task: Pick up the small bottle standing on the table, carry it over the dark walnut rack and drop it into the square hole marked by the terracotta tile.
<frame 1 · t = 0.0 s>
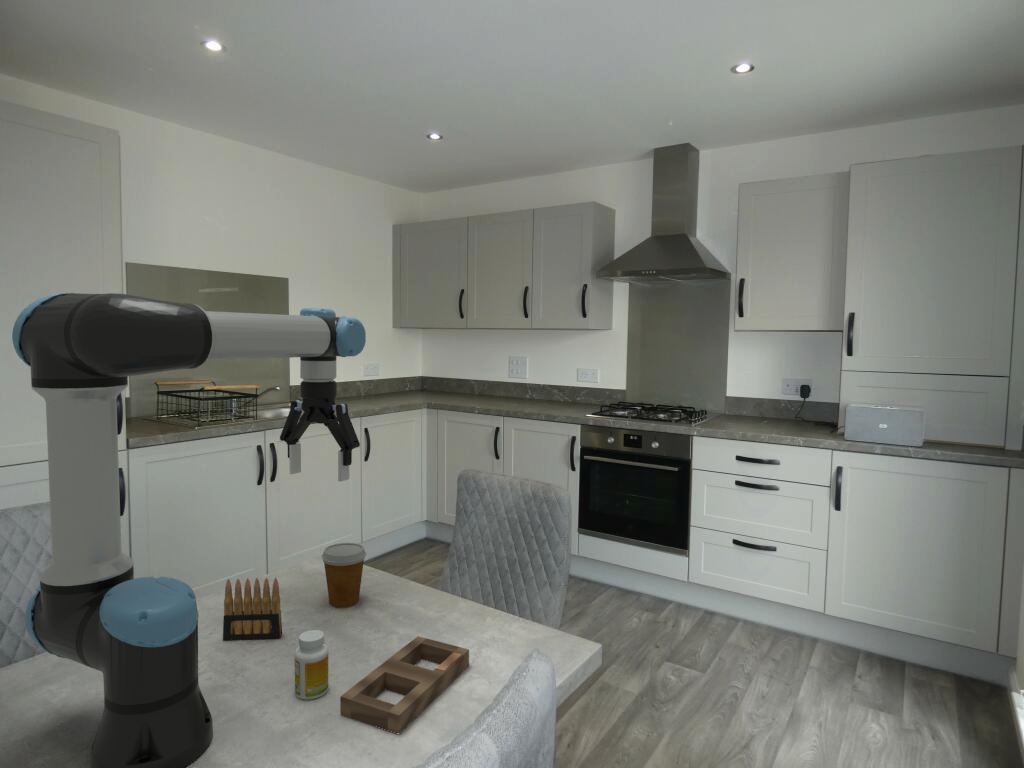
hand: (319, 476, 138), 28 cm above the table, tool pointing down, fingers open, 13 cm apart
disposable coffee cup: (344, 602, 140), on the table
ammunition clip: (252, 638, 123), on the table
supplement bottle: (311, 692, 105), on the table
rack: (409, 688, 106), on the table
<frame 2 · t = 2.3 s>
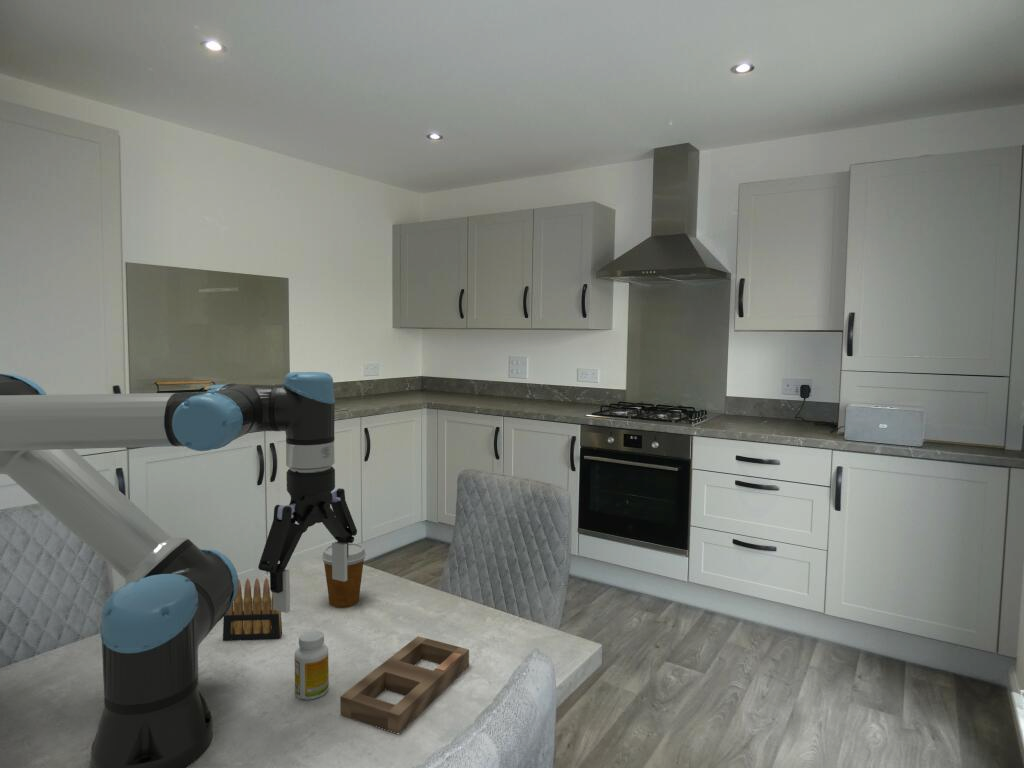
hand: (312, 594, 104), 17 cm above the table, tool pointing down, fingers open, 13 cm apart
nothing on the table moved.
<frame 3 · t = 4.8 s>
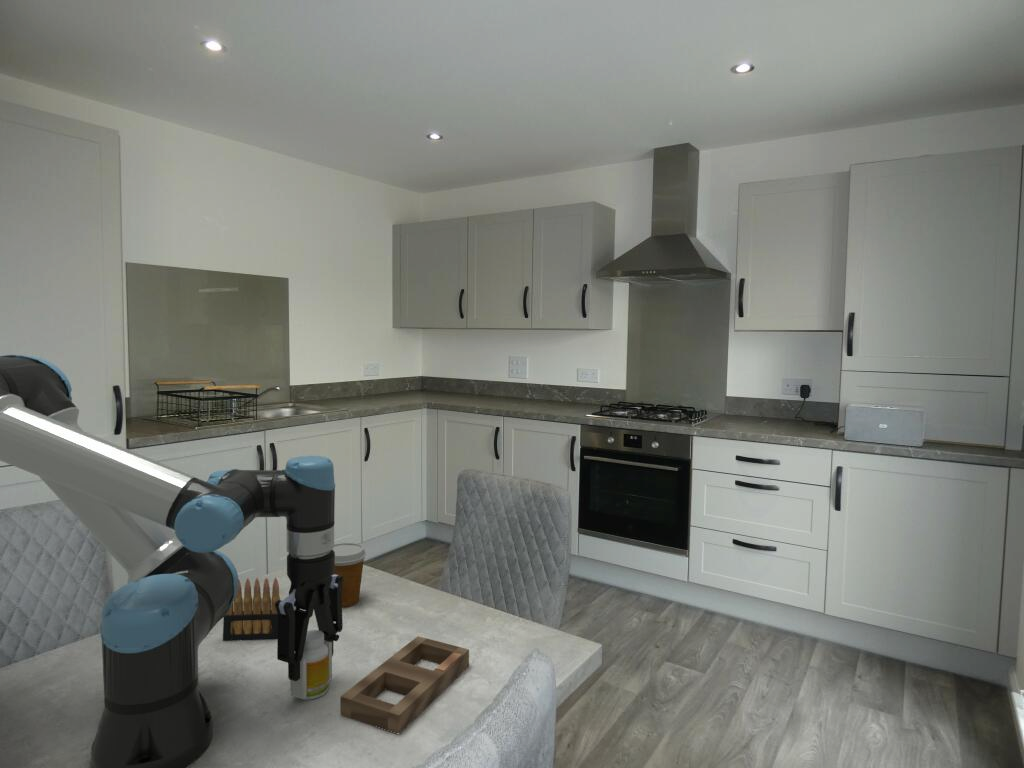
hand: (311, 686, 105), 1 cm above the table, tool pointing down, fingers closed on supplement bottle, 5 cm apart
supplement bottle: (311, 692, 105), on the table, touching gripper
everything else where it was.
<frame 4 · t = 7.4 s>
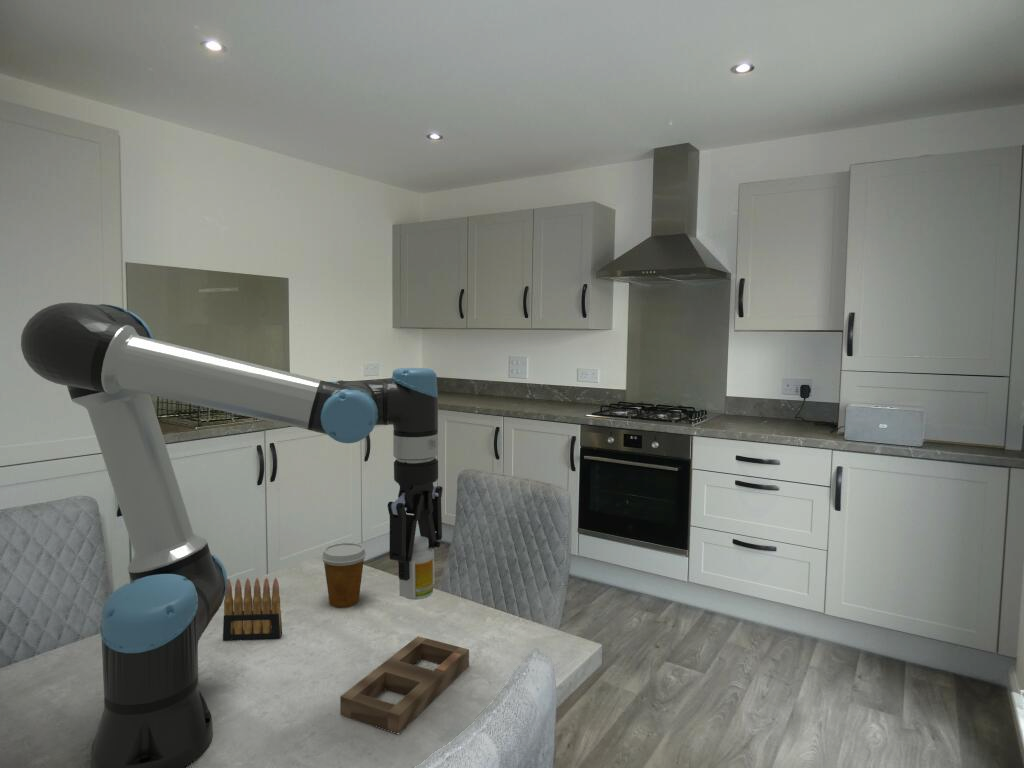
hand: (417, 589, 109), 15 cm above the table, tool pointing down, fingers closed on supplement bottle, 5 cm apart
supplement bottle: (417, 595, 110), point 14 cm above the table, touching gripper
everything else where it was.
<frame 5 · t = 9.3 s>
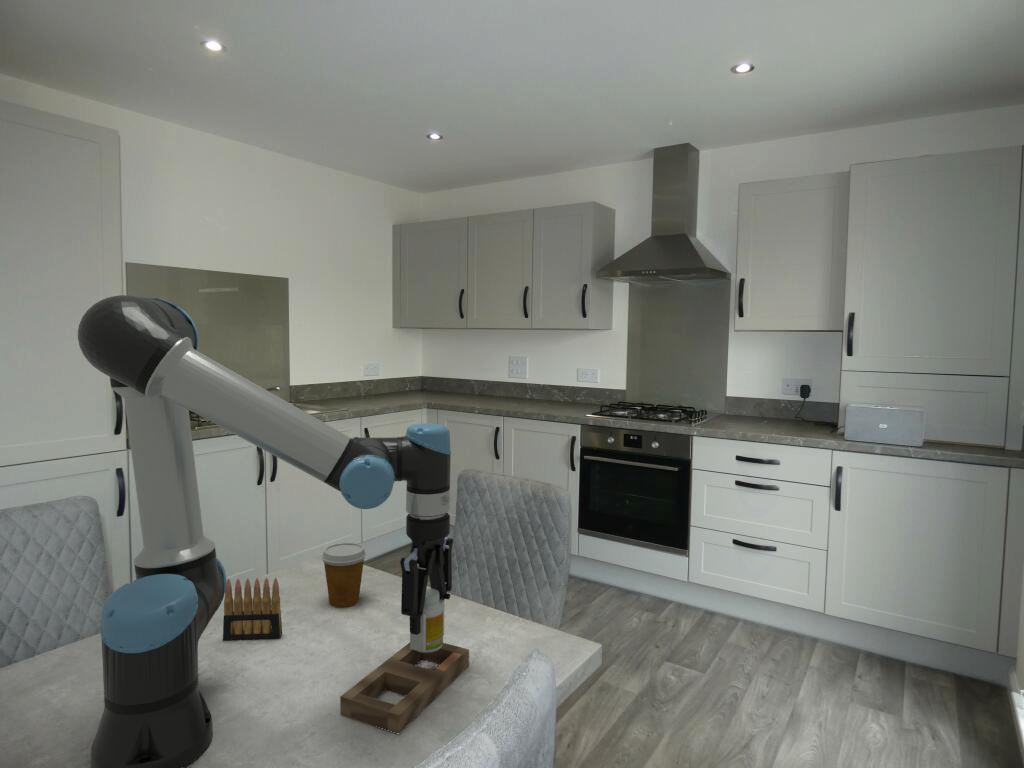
hand: (427, 641, 111), 6 cm above the table, tool pointing down, fingers closed on supplement bottle, 5 cm apart
supplement bottle: (427, 647, 111), point 5 cm above the table, touching gripper
everything else where it was.
when the fingers open (5 cm above the table, at t = 10.5 s): supplement bottle drops 4 cm, resting in rack.
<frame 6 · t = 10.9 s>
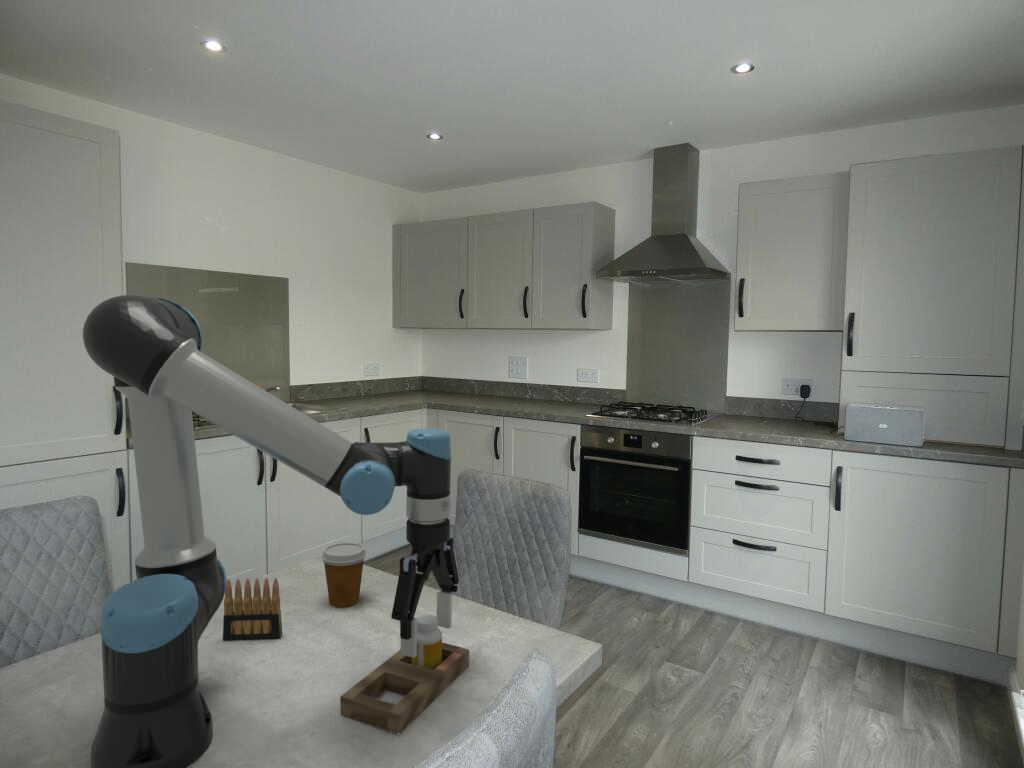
hand: (427, 640, 111), 6 cm above the table, tool pointing down, fingers open, 11 cm apart
supplement bottle: (426, 673, 112), resting in rack
everything else where it was.
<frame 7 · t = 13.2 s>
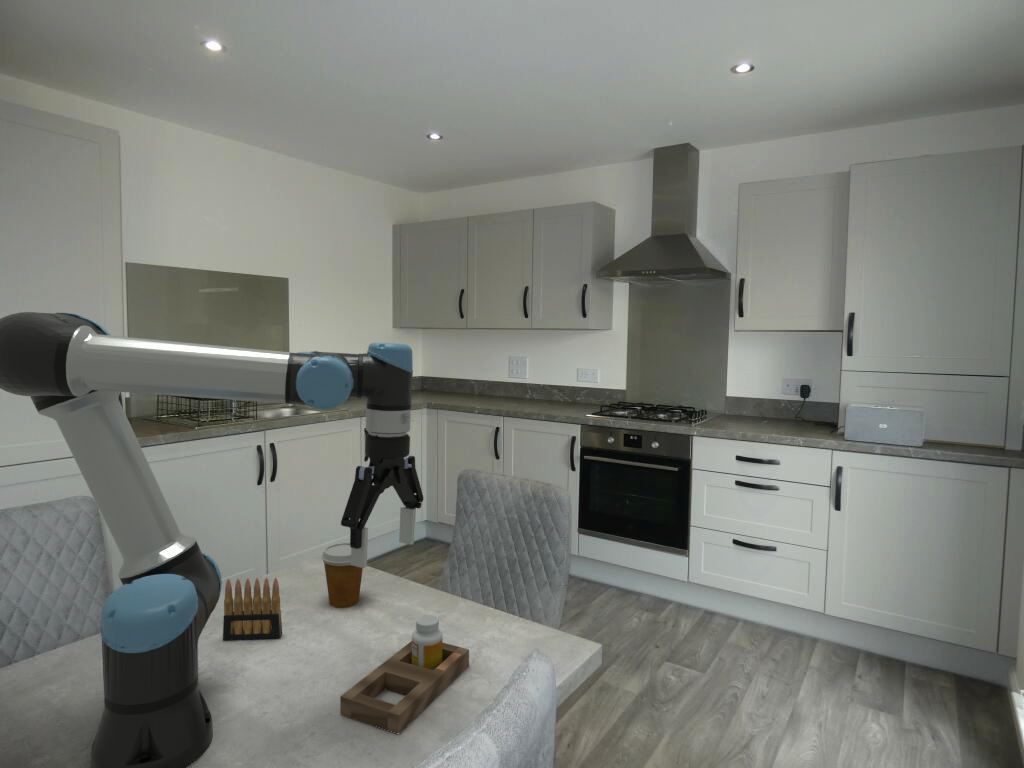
hand: (383, 554, 109), 22 cm above the table, tool pointing down, fingers open, 13 cm apart
nothing on the table moved.
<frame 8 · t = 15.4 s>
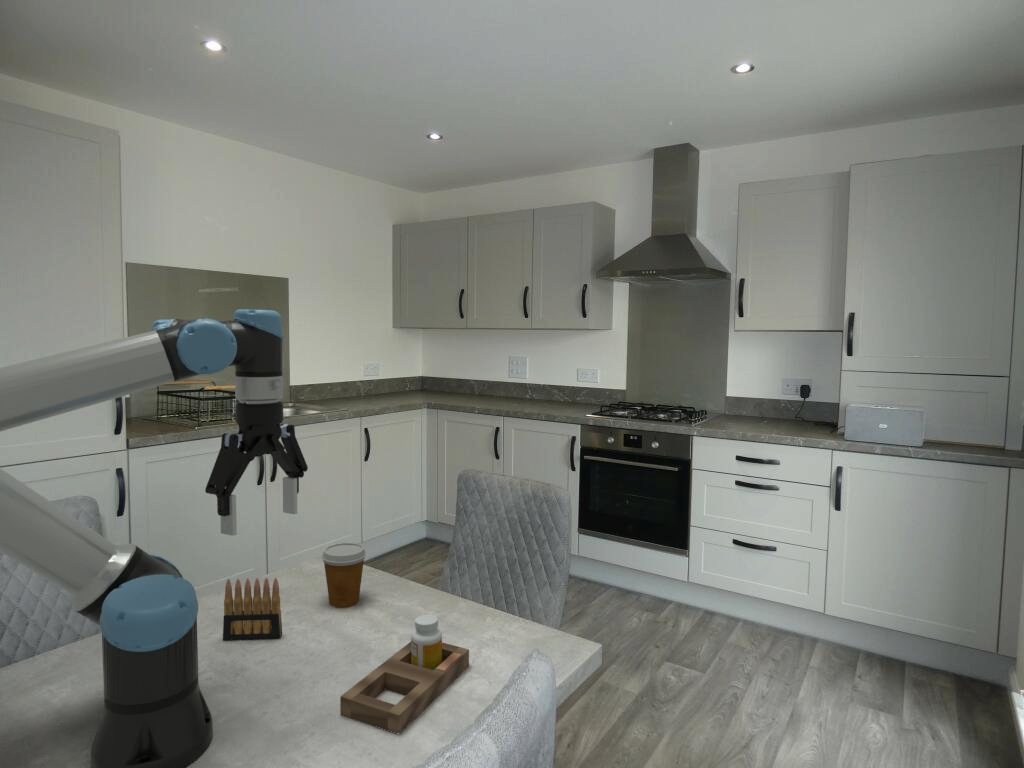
hand: (261, 523, 109), 27 cm above the table, tool pointing down, fingers open, 13 cm apart
nothing on the table moved.
at the end: supplement bottle 0.1 cm from the target spot on the rack, point 0.0 cm above the rack's base; supplement bottle tilted 1°; the gripper is holding nothing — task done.
